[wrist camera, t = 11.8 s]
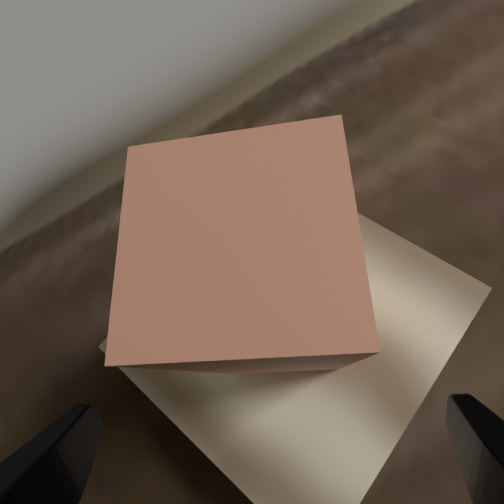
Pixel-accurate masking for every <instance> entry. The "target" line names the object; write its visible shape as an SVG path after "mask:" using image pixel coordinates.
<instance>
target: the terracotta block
mask: <svg viewBox="0 0 504 504" xmlns="http://www.w3.org/2000/svg"><path fill="white" fill-rule="evenodd" d="M377 353H380V348H379V341H378V335H377V329H376V323H375V317H374V311H373V305H372V299H371V293H370V286H369V280H368V274H367V268H366V262H365V256H364V250H363V244H362V238H361V231H360V225H359V219H358V213H357V207H356V201H355V195H354V189H353V183H352V176H351V170H350V164H349V158H348V152H347V146H346V140H345V134H344V128H343V121H342V115H336V116H329V117H323V118H316V119H309V120H303V121H296V122H289V123H283V124H276V125H269V126H263V127H256V128H250V129H243V130H236V131H230V132H223V133H216V134H210V135H203V136H196V137H190V138H183V139H177V140H170V141H164V142H157V143H150V144H143V145H137V146H131V147H128V153H127V162H126V171H125V181H124V190H123V199H122V208H121V218H120V227H119V236H118V245H117V254H116V264H115V273H114V282H113V291H112V301H111V310H110V319H109V328H108V338H107V347H106V356H105V365H104V366H110V367H126V368H143V369H160V370H176V371H193V372H210V373H227V374H243V373H265V372H288V371H311V370H333V369H341V368H343V367H346V366H348V365H350V364H353V363H355V362H358V361H360V360H363V359H365V358H368V357H370V356H372V355H375V354H377Z"/></svg>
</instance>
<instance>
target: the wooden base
mask: <svg viewBox="0 0 504 504" xmlns="http://www.w3.org/2000/svg"><path fill="white" fill-rule="evenodd" d="M358 219H359V225H360V231H361V238H362V244H363V250H364V256H365V262H366V268H367V274H368V280H369V286H370V293H371V299H372V305H373V311H374V317H375V323H376V329H377V335H378V341H379V348H380V353H377V354H375V355H372V356H370V357H368V358H365V359H363V360H360V361H358V362H355V363H353V364H350V365H348V366H346V367H343V368H341V369H333V370H311V371H288V372H265V373H243V374H227V373H210V372H193V371H176V370H160V369H143V368H126V367H119V368H120V369H121V370H122V371H123V372H124V373H125V374H126V375H127V376H128V377H129V378H130V379H131V380H132V382H133V383H134V384H135V385H136V386H137V387H138V388H139V389H140V390H141V391H142V392H143V393H144V394H145V395H146V396H147V397H148V398H149V399H150V400H151V401H152V402H153V403H154V404H155V405H156V406H157V407H158V408H159V409H160V410H161V411H162V412H163V413H164V414H165V415H166V416H167V417H168V418H169V419H170V420H171V421H172V422H173V423H174V424H175V425H176V426H177V427H178V428H179V429H180V430H181V431H182V432H183V433H184V434H185V435H186V436H187V437H188V438H189V439H190V440H191V441H192V442H193V443H194V444H195V445H196V446H197V447H198V448H199V449H200V450H201V451H202V452H203V453H204V454H205V455H206V456H207V457H208V458H209V459H210V460H211V461H212V462H213V463H214V464H215V465H216V466H217V467H218V468H219V469H220V470H221V471H222V472H223V473H224V474H225V475H226V476H227V477H228V478H229V479H230V480H231V481H232V482H233V483H234V484H235V485H236V486H237V487H238V488H239V489H240V490H241V491H242V492H243V493H244V494H245V495H246V496H247V497H248V498H249V499H250V500H251V501H252V502H253V503H254V504H360V502H361V501H362V499H363V497H364V496H365V494H366V492H367V491H368V489H369V488H370V486H371V484H372V483H373V481H374V479H375V478H376V476H377V475H378V473H379V471H380V470H381V468H382V466H383V465H384V463H385V462H386V460H387V458H388V457H389V455H390V453H391V452H392V450H393V449H394V447H395V445H396V444H397V442H398V440H399V439H400V437H401V436H402V434H403V432H404V431H405V429H406V427H407V426H408V424H409V422H410V421H411V419H412V418H413V416H414V414H415V413H416V411H417V409H418V408H419V406H420V405H421V403H422V401H423V400H424V398H425V396H426V395H427V393H428V392H429V390H430V388H431V387H432V385H433V383H434V382H435V380H436V379H437V377H438V375H439V374H440V372H441V370H442V369H443V367H444V365H445V364H446V362H447V361H448V359H449V357H450V356H451V354H452V352H453V351H454V349H455V348H456V346H457V344H458V343H459V341H460V339H461V338H462V336H463V335H464V333H465V331H466V330H467V328H468V326H469V325H470V323H471V322H472V320H473V318H474V317H475V315H476V313H477V312H478V310H479V309H480V307H481V305H482V304H483V302H484V300H485V299H486V297H487V295H488V294H489V292H490V291H491V289H492V288H491V287H489V286H487V285H485V284H484V283H482V282H480V281H478V280H476V279H475V278H473V277H471V276H469V275H468V274H466V273H464V272H462V271H460V270H459V269H457V268H455V267H453V266H452V265H450V264H448V263H446V262H444V261H443V260H441V259H439V258H437V257H436V256H434V255H432V254H430V253H428V252H427V251H425V250H423V249H421V248H419V247H418V246H416V245H414V244H412V243H411V242H409V241H407V240H405V239H403V238H402V237H400V236H398V235H396V234H395V233H393V232H391V231H389V230H387V229H386V228H384V227H382V226H380V225H378V224H377V223H375V222H373V221H371V220H370V219H368V218H366V217H364V216H362V215H361V214H359V213H358ZM107 338H108V336H107V337H106V338H105V340H104V341H103V342H102V343H101V344H100V345H99V348H100V349H101V350H102V351H103V352H104V353H105V354H106V347H107Z"/></svg>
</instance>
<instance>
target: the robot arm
mask: <svg viewBox="0 0 504 504" xmlns="http://www.w3.org/2000/svg"><path fill="white" fill-rule="evenodd" d="M446 426H447V430H448V433H449V436H450V439H451V442H452V444H453V447H454V450H455V453H456V456H457V459H458V462H459V465H460V468H461V471H462V473H463V476H464V479H465V482H466V485H467V488H468V491H469V493H470V496H471V499H472V502H473V504H504V420H503V419H501V418H500V417H499V416H497V415H496V414H495V413H494V412H492V411H491V410H490V409H488V408H487V407H486V406H485V405H483V404H482V403H481V402H479V401H478V400H477V399H476V398H474V397H473V396H472V395H470V394H468V393H452V394H450V395H449V396H448V401H447V410H446ZM102 434H103V424H102V421H101V419H100V417H99V415H98V412H97V410H96V408H95V406H94V405H93V404H78V405H76V406H74V407H73V408H72V409H70V410H69V411H68V412H66V413H65V414H64V415H62V416H61V417H60V418H59V419H57V420H56V421H55V422H53V423H52V424H51V425H49V426H48V427H47V428H45V429H44V430H43V431H42V432H40V433H39V434H38V435H36V436H35V437H34V438H32V439H31V440H30V441H29V442H27V443H26V444H25V445H23V446H22V447H21V448H19V449H18V450H17V451H16V452H14V453H13V454H12V455H10V456H9V457H8V458H6V459H5V460H4V461H2V462H1V463H0V504H79V501H80V499H81V496H82V494H83V491H84V488H85V486H86V483H87V480H88V477H89V473H90V470H91V467H92V464H93V461H94V458H95V455H96V452H97V449H98V446H99V443H100V440H101V437H102Z"/></svg>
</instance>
